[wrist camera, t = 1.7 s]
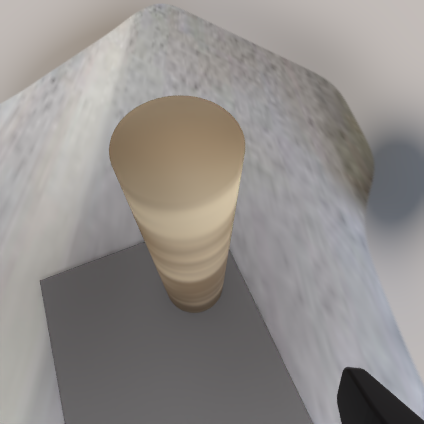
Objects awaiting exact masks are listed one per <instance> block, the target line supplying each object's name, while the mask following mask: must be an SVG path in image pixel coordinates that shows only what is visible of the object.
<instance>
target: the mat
mask: <svg viewBox="0 0 424 424" xmlns="http://www.w3.org/2000/svg"><path fill="white" fill-rule="evenodd" d="M40 284H41V290H42V296H43V301H44V307H45V313H46V318H47V324H48V330H49V336H50V341H51V347H52V353H53V358H54V364H55V370H56V375H57V381H58V387H59V392H60V398H61V404H62V410H63V415H64V421H65V424H313V423H312V421H311V419H310V417H309V415H308V413H307V410H306V408H305V406H304V404H303V402H302V400H301V398H300V396H299V394H298V392H297V390H296V388H295V385H294V383H293V381H292V379H291V377H290V375H289V373H288V371H287V369H286V367H285V365H284V363H283V360H282V358H281V356H280V354H279V352H278V350H277V348H276V346H275V344H274V342H273V340H272V338H271V335H270V333H269V331H268V329H267V327H266V325H265V323H264V321H263V319H262V317H261V315H260V313H259V310H258V308H257V306H256V304H255V302H254V300H253V298H252V296H251V294H250V292H249V290H248V288H247V285H246V283H245V281H244V279H243V277H242V275H241V273H240V271H239V269H238V267H237V265H236V263H235V260H234V258H233V256H232V254H231V252H230V250H229V252H228V258H227V264H226V271H225V277H224V283H223V289H222V293H221V296H220V298H219V299H218V301H217V302H216V303H215V304H214V305H213V306H212V307H211V308H209V309H207V310H205V311H203V312H198V313H190V312H186V311H183V310H181V309H179V308H178V307H176V306H175V305H174V304H173V303H172V301H171V300H170V298H169V296H168V294H167V291H166V289H165V287H164V284H163V282H162V280H161V278H160V275H159V273H158V271H157V268H156V266H155V264H154V261H153V259H152V257H151V255H150V252H149V250H148V248H147V245H146V243H145V242H143V243H140V244H137V245H135V246H132V247H129V248H127V249H124V250H121V251H119V252H116V253H113V254H110V255H108V256H105V257H102V258H100V259H97V260H94V261H92V262H89V263H86V264H83V265H81V266H78V267H75V268H73V269H70V270H67V271H65V272H62V273H59V274H57V275H54V276H51V277H48V278H46V279H43V280H40Z"/></svg>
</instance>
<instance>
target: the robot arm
mask: <svg viewBox="0 0 424 424" xmlns="http://www.w3.org/2000/svg"><path fill="white" fill-rule="evenodd" d="M337 403H338V409H339V413H340V418H341V422H342V424H424V421H423V420H422V419H421V418H420V417H419V416H418V415H417V414H415V413H414V412H413V411H412V410H411V409H410V408H408V407H407V406H406V405H405V404H404V403H403V402H401V401H400V400H399V399H398V398H397V397H396V396H394V395H393V394H392V393H391V392H390V391H389V390H388V389H386V388H385V387H384V386H383V385H382V384H381V383H379V382H378V381H377V380H376V379H375V378H374V377H372V376H371V375H370V374H369V373H368V372H367V371H365V370H364V369H361V368H353V367H346V368H344V370H343V373H342V377H341V381H340V385H339V389H338V394H337Z"/></svg>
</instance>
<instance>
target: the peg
mask: <svg viewBox="0 0 424 424" xmlns="http://www.w3.org/2000/svg"><path fill="white" fill-rule="evenodd" d="M244 154H245V140H244V135H243V132H242V129H241V128H240V126H239V124H238V122H237V121H236V120H235V118H234V117H233V116H232V115H231V114H230V113H229V112H227V111H226V110H225V109H224V108H222V107H220V106H219V105H217V104H215V103H213V102H211V101H208V100H205V99H202V98H198V97H192V96H168V97H162V98H158V99H154V100H151V101H148V102H146V103H144V104H142V105H140V106H138V107H136V108H135V109H133V110H132V111H131V112H129V113H128V114H127V115H126V116H125V117H124V118H123V119H122V120H121V121H120V122H119V124H118V125H117V127H116V128H115V130H114V132H113V134H112V137H111V141H110V146H109V156H110V161H111V165H112V167H113V169H114V172H115V174H116V176H117V178H118V181H119V183H120V185H121V188H122V190H123V192H124V195H125V197H126V199H127V201H128V204H129V206H130V208H131V211H132V213H133V215H134V218H135V220H136V222H137V225H138V227H139V229H140V231H141V234H142V236H143V238H144V241H145V243H146V245H147V248H148V250H149V252H150V255H151V257H152V259H153V261H154V264H155V266H156V268H157V271H158V273H159V275H160V278H161V280H162V282H163V284H164V287H165V289H166V291H167V294H168V296H169V298H170V300H171V301H172V303H173V304H174V305H175V306H176V307H178V308H179V309H181V310H183V311H186V312H190V313H198V312H203V311H205V310H207V309H209V308H211V307H212V306H213V305H214V304H215V303H216V302H217V301H218V299H219V298H220V296H221V293H222V289H223V283H224V277H225V271H226V264H227V258H228V252H229V246H230V240H231V234H232V228H233V221H234V215H235V209H236V203H237V197H238V191H239V185H240V178H241V172H242V166H243V160H244Z"/></svg>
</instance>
